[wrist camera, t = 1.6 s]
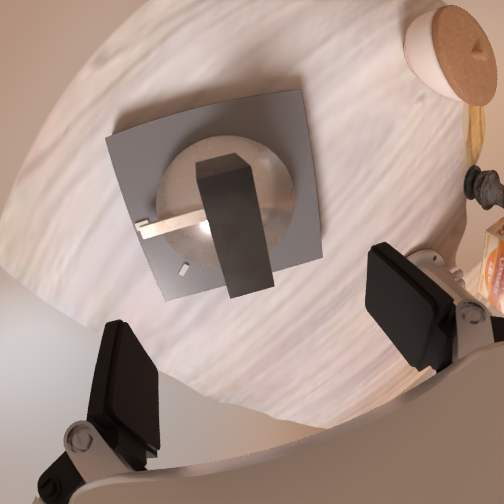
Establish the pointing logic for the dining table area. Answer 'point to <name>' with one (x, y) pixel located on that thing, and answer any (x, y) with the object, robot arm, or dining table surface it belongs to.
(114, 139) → the dial plate
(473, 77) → the lidded jar
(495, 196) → the dark grey chess piece
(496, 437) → the robot arm
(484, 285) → the coffeecake box
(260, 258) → the dial
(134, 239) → the dining table surface
